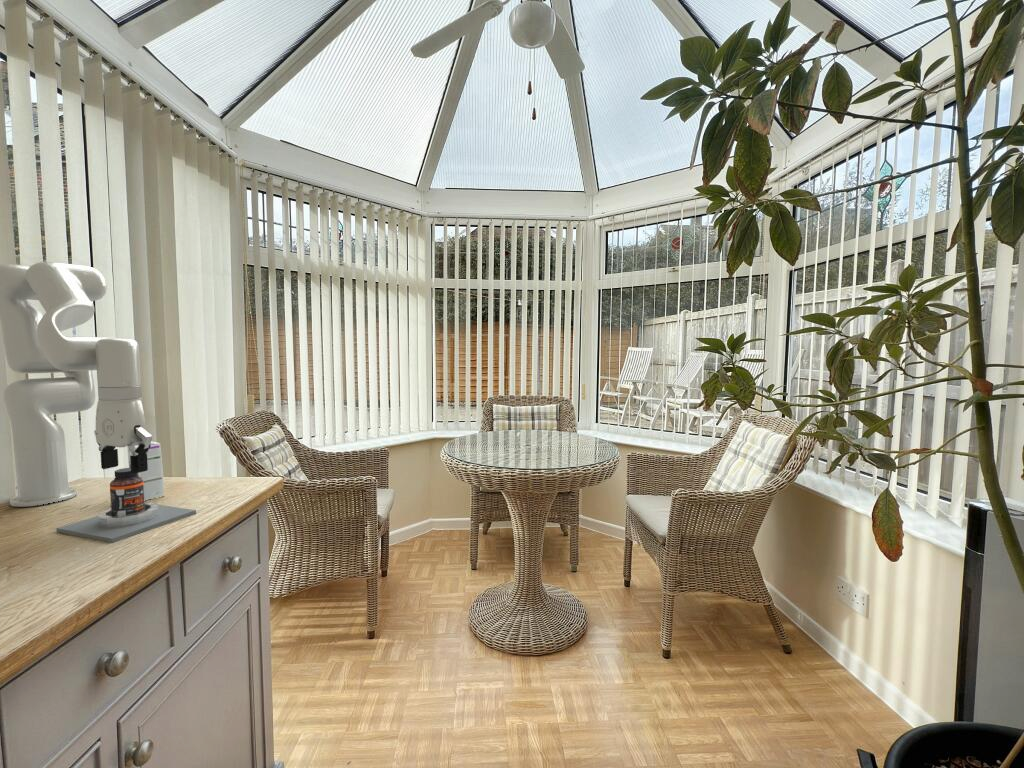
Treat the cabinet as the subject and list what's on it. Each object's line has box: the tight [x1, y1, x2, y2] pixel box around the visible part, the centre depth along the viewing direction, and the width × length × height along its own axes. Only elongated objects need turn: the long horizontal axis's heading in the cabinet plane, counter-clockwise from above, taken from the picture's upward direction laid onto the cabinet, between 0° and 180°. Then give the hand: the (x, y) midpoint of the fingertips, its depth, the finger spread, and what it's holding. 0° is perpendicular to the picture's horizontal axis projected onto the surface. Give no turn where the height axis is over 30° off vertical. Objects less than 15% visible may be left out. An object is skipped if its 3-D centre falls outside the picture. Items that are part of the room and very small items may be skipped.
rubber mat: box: [55, 504, 197, 543], centre depth 110 cm, size 18×18×1 cm
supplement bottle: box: [109, 467, 146, 517], centre depth 110 cm, size 6×6×11 cm
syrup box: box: [126, 440, 165, 501], centre depth 128 cm, size 6×6×14 cm
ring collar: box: [98, 501, 158, 528], centre depth 110 cm, size 10×10×2 cm
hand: (124, 469), depth 109 cm, fingers open, 9 cm apart
